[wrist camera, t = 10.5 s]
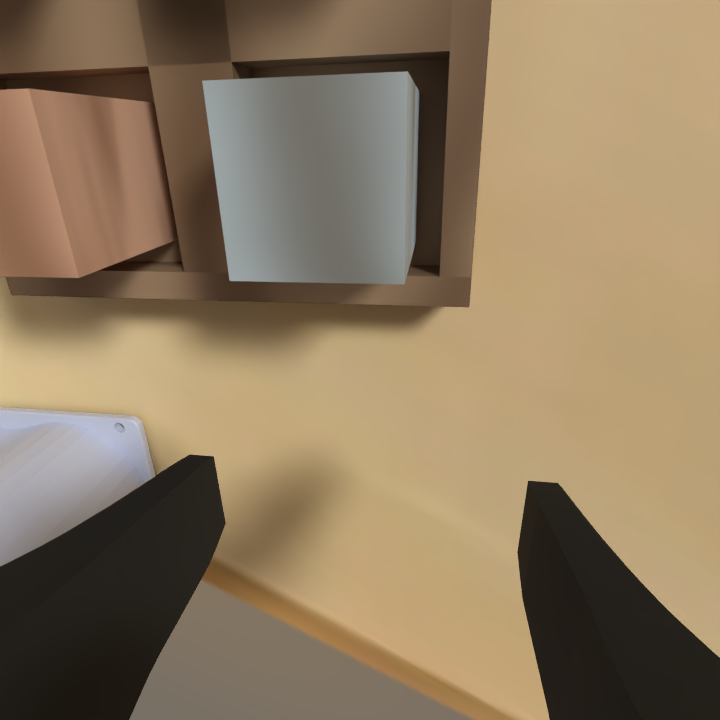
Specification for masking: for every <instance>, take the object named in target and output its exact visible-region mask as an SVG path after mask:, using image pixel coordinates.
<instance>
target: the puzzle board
mask: <svg viewBox="0 0 720 720" xmlns="http://www.w3.org/2000/svg"><path fill="white" fill-rule="evenodd" d="M491 1H492V0H0V276H5V277H6V280H7V283H8V286H9V289H10V292H11V295H29V296H67V297H104V298H142V299H180V300H218V301H255V302H293V303H331V304H368V305H406V306H444V307H469V303H470V289H471V276H472V262H473V248H474V234H475V221H476V207H477V193H478V180H479V166H480V152H481V138H482V125H483V111H484V97H485V84H486V70H487V56H488V43H489V29H490V15H491Z"/></svg>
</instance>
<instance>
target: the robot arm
mask: <svg viewBox="0 0 720 720" xmlns="http://www.w3.org/2000/svg"><path fill="white" fill-rule="evenodd" d="M120 424H122V425H123V426H124V428H123V427H122V426H121V425H120ZM224 526H225V518H224V512H223V506H222V501H221V495H220V490H219V484H218V478H217V473H216V467H215V461H214V457H213V456H200V455H189V456H187V457H185V458H183V459H181V460H180V461H178V462H177V463H175V464H173V465H172V466H170V467H169V468H167V469H166V470H164V471H162V472H161V473H159V474H158V475H156V476H155V472H154V468H153V463H152V459H151V455H150V451H149V447H148V443H147V439H146V435H145V430H144V426H143V424H142V422H141V420H140V419H139V418H137V417H135V416H131V415H116V414H101V413H86V412H71V411H55V410H40V409H25V408H10V407H0V720H129V719H130V716H131V714H132V712H133V709H134V707H135V705H136V703H137V700H138V698H139V696H140V694H141V691H142V689H143V687H144V685H145V683H146V680H147V678H148V676H149V674H150V672H151V670H152V668H153V666H154V664H155V662H156V660H157V658H158V656H159V654H160V652H161V651H162V649H163V647H164V645H165V643H166V642H167V640H168V638H169V636H170V634H171V633H172V631H173V629H174V627H175V625H176V624H177V622H178V620H179V618H180V617H181V614H182V613H183V611H184V609H185V607H186V605H187V604H188V602H189V600H190V598H191V597H192V595H193V593H194V591H195V590H196V588H197V586H198V584H199V582H200V580H201V579H202V577H203V575H204V573H205V571H206V569H207V567H208V565H209V564H210V561H211V559H212V557H213V554H214V552H215V549H216V547H217V544H218V542H219V539H220V536H221V534H222V531H223V529H224ZM518 561H519V570H520V580H521V588H522V597H523V602H524V607H525V611H526V616H527V620H528V625H529V629H530V634H531V638H532V642H533V647H534V651H535V656H536V660H537V664H538V669H539V673H540V677H541V682H542V686H543V691H544V695H545V699H546V704H547V708H548V713H549V718H550V720H720V658H719V657H718V656H717V655H716V654H715V653H714V652H712V651H711V650H710V649H709V648H708V647H707V646H706V645H705V644H704V643H703V642H701V641H700V640H699V639H698V638H697V637H696V636H695V635H694V634H693V633H692V632H691V631H690V630H688V629H687V628H686V627H685V626H684V625H683V624H682V623H681V622H680V621H679V620H678V619H677V618H676V617H674V616H673V615H672V614H671V613H670V612H669V611H668V610H667V609H666V608H665V607H664V606H663V605H662V604H661V603H660V602H659V601H658V600H657V599H656V597H655V596H654V595H653V594H652V593H651V592H650V591H649V590H648V589H647V588H646V587H645V586H644V585H643V584H642V583H641V582H640V581H639V580H638V578H637V577H636V576H635V575H634V574H633V573H632V572H631V571H630V570H629V569H628V568H627V566H626V565H625V564H624V563H623V562H622V561H621V559H620V558H619V557H618V556H617V555H616V554H615V553H614V551H613V550H612V549H611V548H610V547H609V546H608V544H607V543H606V542H605V541H604V540H603V539H602V537H601V536H600V535H599V534H598V533H597V531H596V530H595V529H594V528H593V526H592V525H591V524H590V523H589V521H588V520H587V519H586V518H585V516H584V515H583V514H582V513H581V511H580V510H579V509H578V508H577V506H576V505H575V504H574V502H573V501H572V500H571V499H570V497H569V496H568V495H567V493H566V492H565V491H564V490H563V488H562V487H561V486H560V485H559V484H558V483H549V482H536V481H528V486H527V492H526V499H525V506H524V513H523V519H522V526H521V533H520V539H519V546H518Z"/></svg>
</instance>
